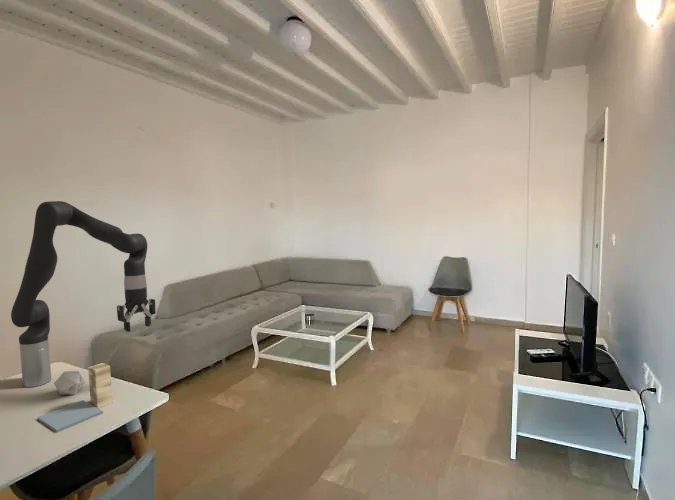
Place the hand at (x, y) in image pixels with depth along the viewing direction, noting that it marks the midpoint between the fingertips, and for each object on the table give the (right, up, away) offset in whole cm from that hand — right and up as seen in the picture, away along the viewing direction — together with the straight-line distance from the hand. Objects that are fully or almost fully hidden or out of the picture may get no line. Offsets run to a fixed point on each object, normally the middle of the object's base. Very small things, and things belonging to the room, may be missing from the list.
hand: (137, 328), depth 152 cm
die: (-25, -24, -1) cm, 35 cm away
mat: (-14, -26, -18) cm, 34 cm away
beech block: (-8, -25, -10) cm, 28 cm away
